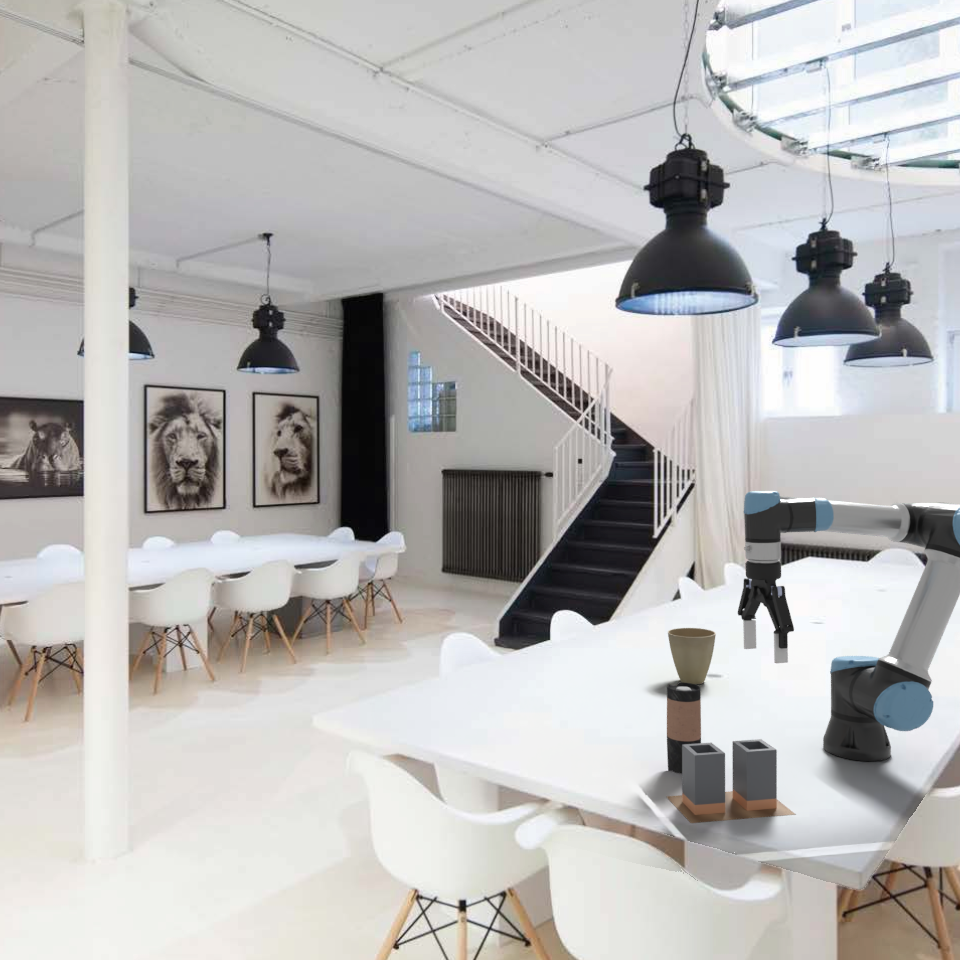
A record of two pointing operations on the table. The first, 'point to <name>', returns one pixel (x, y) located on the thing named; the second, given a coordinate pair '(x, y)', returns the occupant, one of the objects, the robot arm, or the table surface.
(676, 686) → the travel mug
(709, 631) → the plant pot
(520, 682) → the table surface
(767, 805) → the seated sleeve
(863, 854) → the table surface
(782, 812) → the pinboard
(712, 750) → the banded sleeve
